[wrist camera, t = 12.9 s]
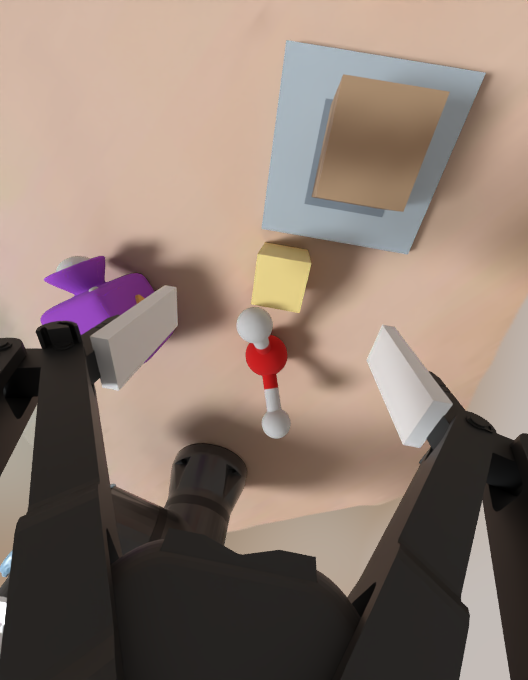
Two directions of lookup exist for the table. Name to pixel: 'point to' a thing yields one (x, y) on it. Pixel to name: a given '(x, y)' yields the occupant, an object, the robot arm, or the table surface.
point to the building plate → (308, 134)
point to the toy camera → (94, 293)
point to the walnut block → (376, 142)
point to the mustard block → (281, 277)
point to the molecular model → (265, 365)
